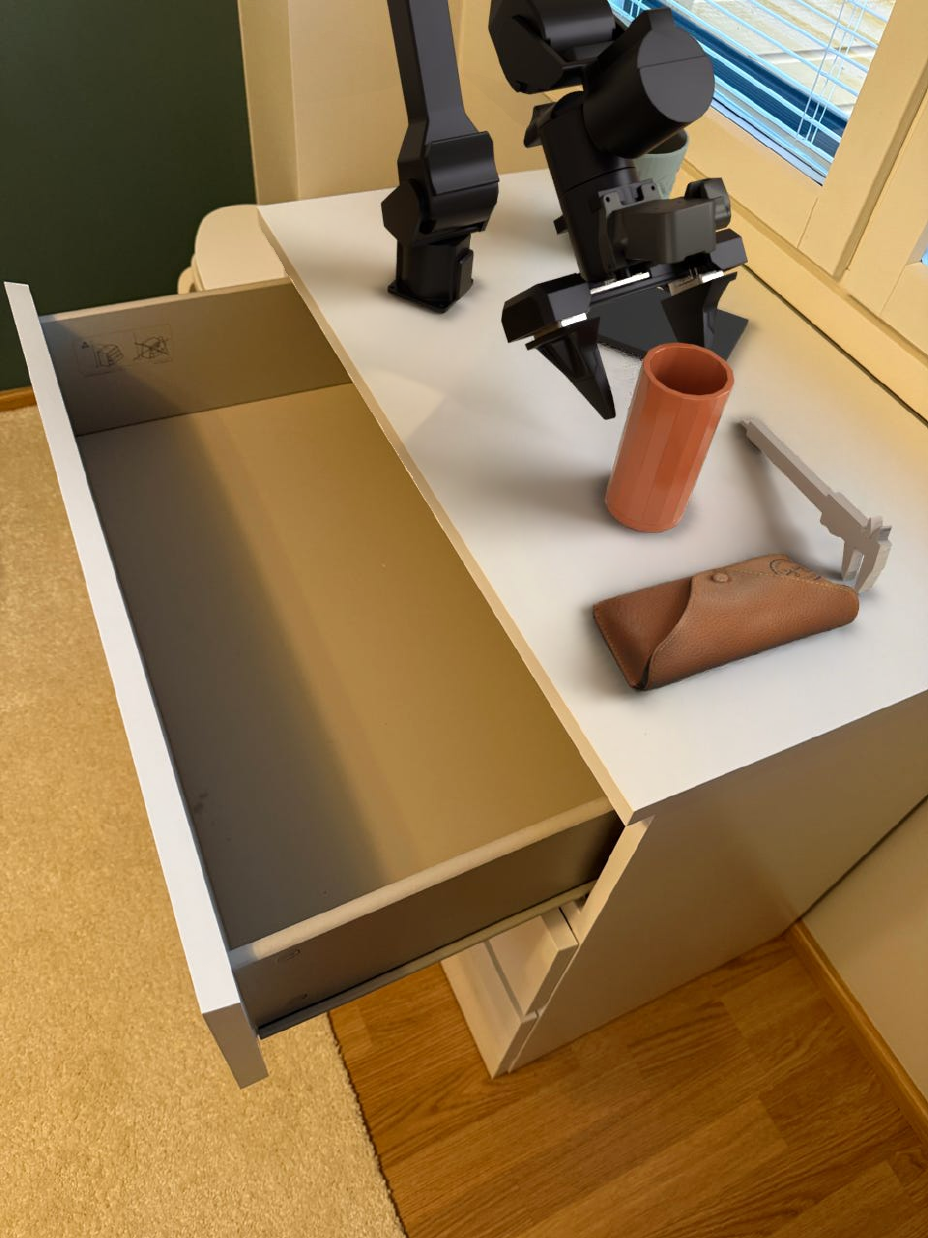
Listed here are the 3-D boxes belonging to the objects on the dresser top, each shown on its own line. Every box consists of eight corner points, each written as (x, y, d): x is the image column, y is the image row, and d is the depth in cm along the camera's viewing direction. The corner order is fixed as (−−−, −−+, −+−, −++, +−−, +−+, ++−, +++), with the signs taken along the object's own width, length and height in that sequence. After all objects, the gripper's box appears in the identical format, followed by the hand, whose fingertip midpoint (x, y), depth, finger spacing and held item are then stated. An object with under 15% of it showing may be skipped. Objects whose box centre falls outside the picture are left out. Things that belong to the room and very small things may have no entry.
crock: (593, 512, 74) (629, 377, 63) (622, 466, 77) (661, 332, 67) (668, 543, 72) (718, 411, 62) (694, 495, 76) (745, 362, 66)
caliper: (866, 596, 70) (904, 539, 66) (854, 598, 70) (891, 541, 65) (749, 423, 82) (773, 364, 77) (738, 424, 82) (762, 365, 77)
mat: (575, 333, 89) (576, 325, 88) (616, 280, 95) (618, 273, 94) (713, 384, 85) (715, 376, 85) (746, 326, 92) (749, 319, 91)
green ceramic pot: (560, 217, 102) (581, 102, 93) (650, 221, 103) (678, 108, 94) (573, 267, 96) (595, 149, 87) (667, 272, 97) (700, 156, 88)
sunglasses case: (783, 545, 72) (840, 523, 66) (813, 631, 72) (873, 617, 65) (582, 606, 67) (623, 589, 60) (613, 699, 66) (657, 692, 60)
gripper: (550, 164, 54) (626, 421, 58) (775, 112, 62) (831, 343, 65) (467, 228, 64) (535, 444, 68) (668, 177, 72) (722, 374, 75)
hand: (658, 400), depth 68 cm, fingers open, 9 cm apart
